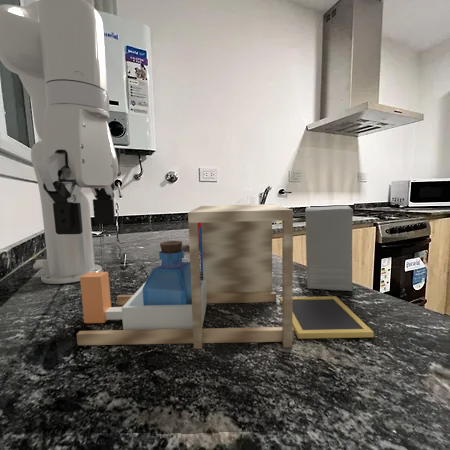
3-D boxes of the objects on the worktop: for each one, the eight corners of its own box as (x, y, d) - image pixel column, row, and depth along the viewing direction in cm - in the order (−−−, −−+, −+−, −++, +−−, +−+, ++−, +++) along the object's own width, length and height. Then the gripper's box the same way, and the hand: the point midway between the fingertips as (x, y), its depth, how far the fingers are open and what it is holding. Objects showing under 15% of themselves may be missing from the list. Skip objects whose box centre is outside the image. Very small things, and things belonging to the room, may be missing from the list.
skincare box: (348, 281, 54) (350, 205, 52) (352, 294, 47) (355, 207, 45) (305, 278, 57) (306, 205, 55) (304, 289, 50) (305, 207, 48)
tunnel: (193, 348, 32) (187, 212, 30) (204, 298, 47) (201, 206, 45) (292, 346, 32) (293, 209, 30) (271, 297, 47) (270, 204, 45)
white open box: (68, 337, 34) (62, 286, 34) (104, 305, 45) (101, 265, 44) (200, 335, 34) (198, 283, 33) (207, 302, 44) (205, 262, 43)
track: (77, 345, 33) (76, 334, 33) (119, 303, 46) (118, 295, 46) (293, 341, 33) (294, 330, 33) (275, 300, 46) (275, 291, 45)
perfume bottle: (187, 335, 35) (183, 247, 33) (145, 331, 36) (139, 246, 35) (201, 314, 41) (198, 239, 39) (165, 311, 42) (161, 238, 41)
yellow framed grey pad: (298, 338, 33) (298, 333, 33) (280, 301, 45) (280, 297, 45) (373, 337, 33) (373, 332, 33) (335, 300, 45) (336, 296, 45)
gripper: (86, 121, 44) (94, 220, 47) (-3, 80, 27) (17, 240, 30) (129, 120, 44) (135, 220, 47) (68, 79, 27) (82, 239, 30)
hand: (89, 227), depth 38 cm, fingers open, 9 cm apart
